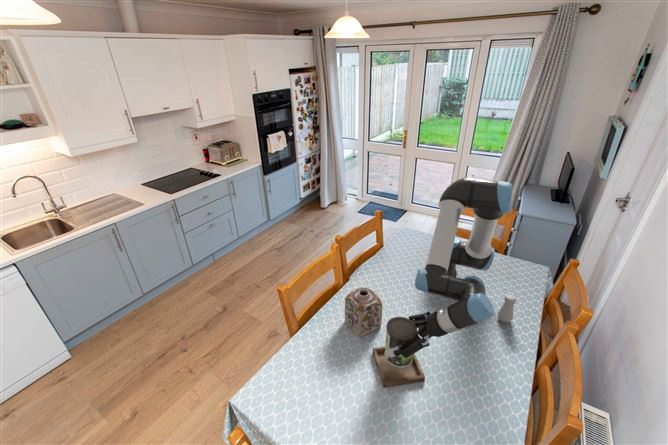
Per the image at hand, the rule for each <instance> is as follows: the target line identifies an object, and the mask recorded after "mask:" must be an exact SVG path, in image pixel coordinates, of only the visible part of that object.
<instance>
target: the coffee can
mask: <svg viewBox="0 0 668 445" xmlns="http://www.w3.org/2000/svg"><path fill="white" fill-rule="evenodd" d="M385 328H386V333H385V346H384V347H385V351H386V350H389V349H392V348H394V347H397V346H399V345H400V346H402V345H404V344H405V343H406V342H407V341H408V340H410V339H411V338H412V337H413V336H414V335H415V333H416V332H417V331H418V328H417V327H416V325H415V324H414V323H413V322H412V321H411V320H409V318H407V317H404V316H403V317H402V316H395V317H392V318H390V319H389V320H388V321H387V322H386V326H385ZM385 358H386V360H387V362H388V363H389V364H391V365H392V366H395V367H398V368H404V367H407V366H409V365H410V364H411V363H412V361H413V354H412V355H411V356H409V357H408V358H404V357H403V356H402V355H399V356H394V357H391V358H390V357H389V356H388V355H387V354H386V353H385Z"/></svg>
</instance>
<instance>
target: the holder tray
mask: <svg viewBox="0 0 668 445" xmlns="http://www.w3.org/2000/svg"><path fill="white" fill-rule="evenodd" d="M372 354H373V358H374V361H375V364H376V368H377V372H378V374H379V377H380V381H381V385H382V388H383V389H386V388H392V387H398V386H404V385H411V384H417V383H424V382H425V380H426V375H425V374H424V371H423V369H422V367H421V364H420V362H419V360H418V358H417V356H416V353H414V354H413V361H412V363H411V364H410V365H409V366H407V367H404V368H398V367H395V366H392V365H391V364H389V363H388V362H387V360H386V358H385V346H380V347H379V346H378V347H373V348H372Z"/></svg>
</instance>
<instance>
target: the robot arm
mask: <svg viewBox="0 0 668 445" xmlns="http://www.w3.org/2000/svg"><path fill="white" fill-rule="evenodd" d="M513 189H514V188H513V184H512V183H511V182H508V181H503V180H494V179H485V178H479V177H478V178H477V177H470V176H469V177H467V176H466V177H463V178H460V179H456V180H455V181H454V182H452V183H451V184H450V185H449V186H447V187H446V188H445V190H444V191H443V192H442V194H441V196H440V198H439V202H438V208H439V213H438V215H437V216H438V217H437V221H436V224H435V228H434V232H433V236H432V240H431V244H430V247H429V252H428V255H427V260H426V263H425V267H424V268H419V269H418V270H417V272H416V276H415V280H414V288H415V289H417V290H418V291H421V292H423V293H427V294H432V295H434V296H435V295H436V296H438V297H442V298H445V299H449V300H453V301H456V302H454V303H452V304H449V305H448V306H444V307H443V308H441V309H438V310H436V311H433V312H430V311H429V310H428V311H426V312H423V313H420V314H419V313H418V314H413V315H409V316H408V319H409V320H411V321H412V322H413V323H414V324H415V325H416V327H417V332H416V333H415V335H414V336H413V337H412V338H411V339H410V340H408V341H407V342H406V343H405V344H404V345H402V346H400V345H399V346H397V347H394V348H392V349H389V350H386V351H385V353H386V354H387V355H388V356H389V357H390V358H391V357H394V356H399V355H402V356H403V357H404V358H408V357H409V356H411V355H412V354H414V353H415V354H416V353H417V352H419V351H421V350H422V349H425V348H427V347H430V342H429V340H430V339H431V338H432V337H437V338H440V337H444V336H446V335H448V334H452V333H454V332H457V331H460V330H462V329H465V328H468V327H471V326H473V325H475V324H479V323H483V322H485V321H486V320H488V319H489V320H490V318H492V317H493V316H494V313H495V312H494V307H493V305H492V304H493V303H492V302H491V300H490V299H489V298H488V297H487V295H486V293H487V291H486V284H485V282H484V281H483V280H482V278H480V277H479V276H475V275H468V276H465V277H464V278H462V277H458V271H457V265H458V266H462V267H466V268H469V269H473V270H478V271H484V272H487V271H488V270H489V269H490V268H491V266H492V264H493V261H494V258H495V252H496V250H495V248H494V247H493V246H492V244H491V243H492V239H493V236H494V234H495V230H496V227H497V223H498V220H499V219H501V218H502V217H503V216H504V215H509V214H510V213H511V204H512V197H513V196H512V195H513ZM466 208H469V209H472V212H473V214H474V218H473V224H472V228H471V231H470V236H469V237H470V238H469V239H467V241H462V240H461V238H460V237H459V236H457V231H458V226H459V222H460V219H461V214H462V213H463V212H465V209H466Z"/></svg>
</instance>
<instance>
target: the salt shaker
mask: <svg viewBox="0 0 668 445" xmlns="http://www.w3.org/2000/svg"><path fill="white" fill-rule="evenodd" d="M516 303H517V298H516V296H514V295H513V294H510V293H509V294H506V295H505V296H504V302H503V303H502V305H501V307H500V308H499V310H498V312H497V318H498V321H499V322H500V323H502V324H509V322H512V320H513V318H514V308H515V306H514V305H515V304H516Z"/></svg>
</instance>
